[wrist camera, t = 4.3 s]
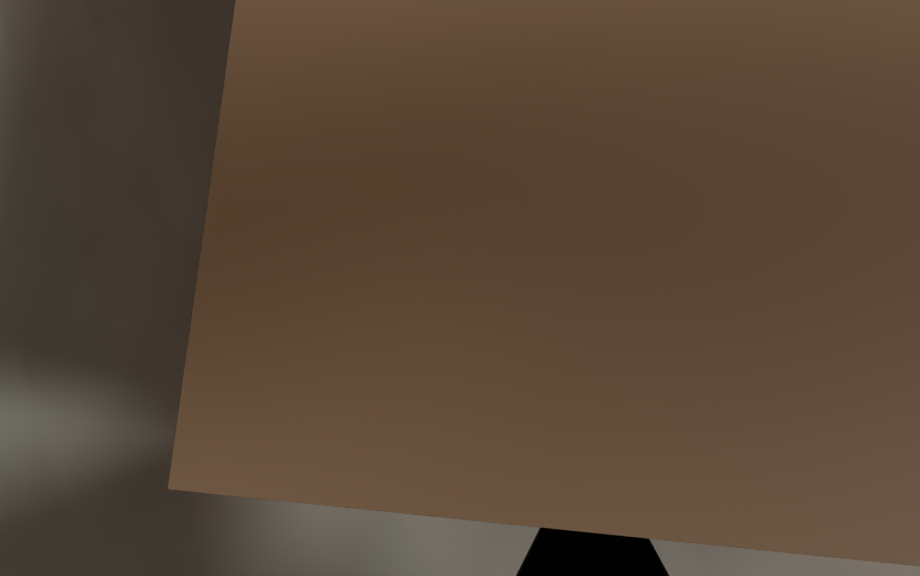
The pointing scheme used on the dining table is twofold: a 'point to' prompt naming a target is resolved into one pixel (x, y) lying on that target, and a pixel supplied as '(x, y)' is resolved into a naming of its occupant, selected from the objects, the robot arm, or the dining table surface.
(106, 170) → the dining table surface
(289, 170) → the wooden block
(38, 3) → the dining table surface
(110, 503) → the dining table surface
